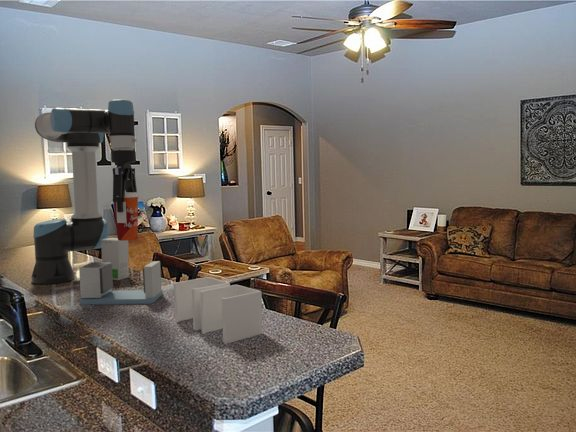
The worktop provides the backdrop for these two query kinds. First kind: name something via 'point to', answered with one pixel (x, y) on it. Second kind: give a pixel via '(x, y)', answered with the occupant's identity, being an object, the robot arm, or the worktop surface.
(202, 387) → the worktop surface
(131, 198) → the coffee cup
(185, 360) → the worktop surface
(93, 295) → the block
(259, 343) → the worktop surface
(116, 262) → the skincare box
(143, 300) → the base
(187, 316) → the grey rectangular blocks
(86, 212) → the robot arm
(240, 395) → the worktop surface
